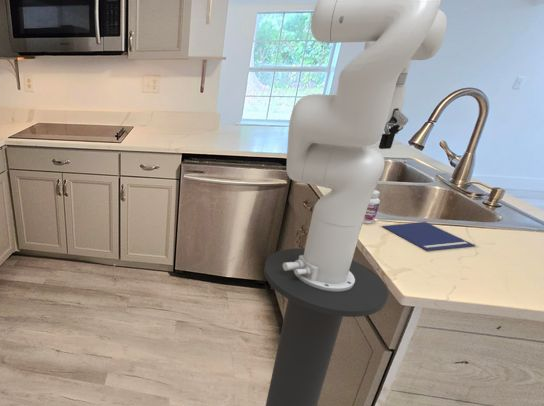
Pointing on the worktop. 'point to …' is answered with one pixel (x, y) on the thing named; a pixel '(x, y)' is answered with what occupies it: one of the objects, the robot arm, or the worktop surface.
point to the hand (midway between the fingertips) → (370, 144)
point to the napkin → (427, 236)
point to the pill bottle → (372, 208)
